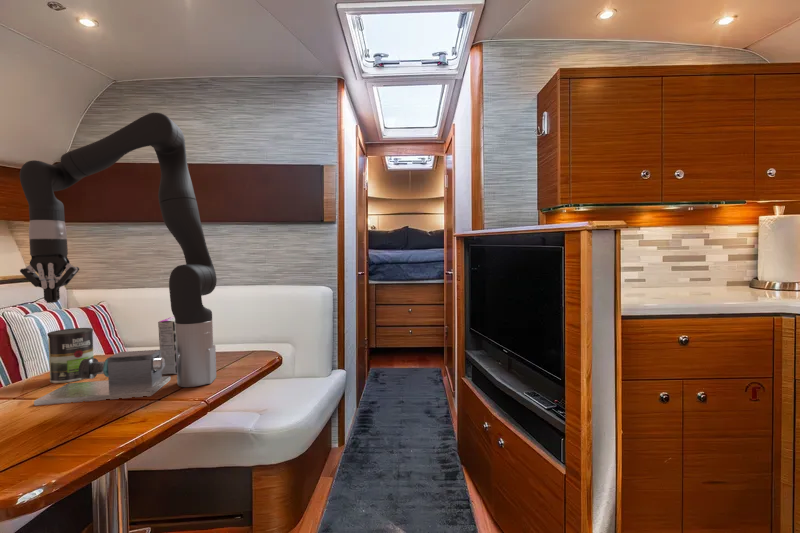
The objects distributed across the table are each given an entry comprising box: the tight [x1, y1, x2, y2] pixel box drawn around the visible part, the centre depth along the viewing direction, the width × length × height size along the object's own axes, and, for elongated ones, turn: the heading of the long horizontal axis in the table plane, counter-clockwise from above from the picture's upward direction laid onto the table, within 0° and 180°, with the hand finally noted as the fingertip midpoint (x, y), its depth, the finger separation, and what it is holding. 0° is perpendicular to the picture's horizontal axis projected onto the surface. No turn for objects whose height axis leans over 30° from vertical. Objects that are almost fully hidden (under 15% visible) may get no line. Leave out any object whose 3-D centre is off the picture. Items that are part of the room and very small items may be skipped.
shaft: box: [79, 357, 165, 380], centre depth 103 cm, size 18×5×5 cm, turn 101°
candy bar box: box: [157, 315, 177, 376], centre depth 121 cm, size 11×5×16 cm, turn 6°
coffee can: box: [46, 327, 95, 384], centre depth 115 cm, size 10×10×14 cm
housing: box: [33, 349, 171, 406], centre depth 102 cm, size 26×13×10 cm, turn 101°
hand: (52, 302), depth 104 cm, fingers closed
